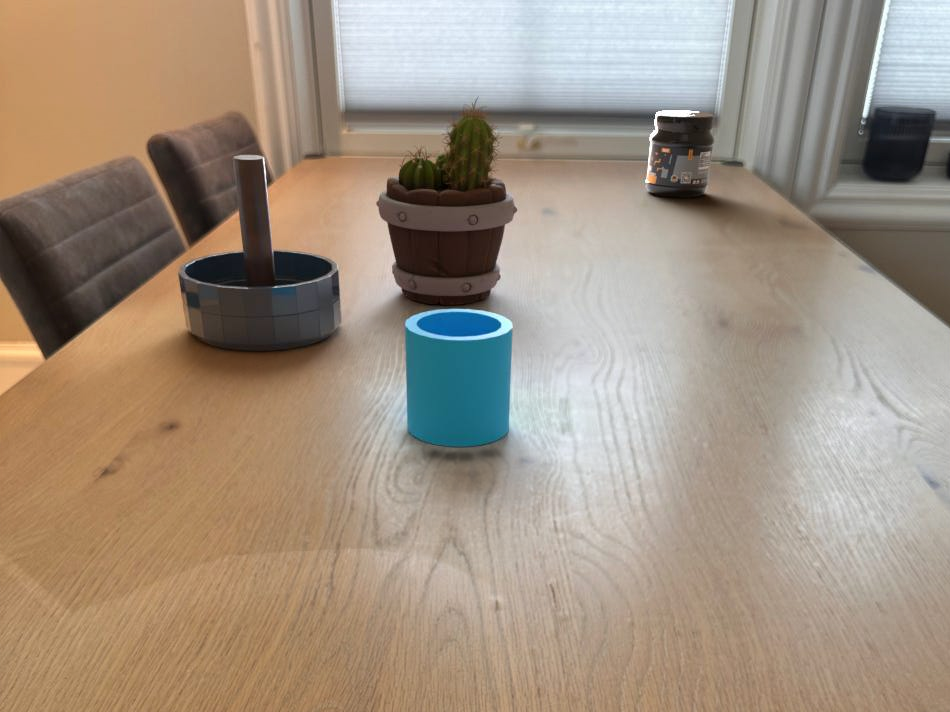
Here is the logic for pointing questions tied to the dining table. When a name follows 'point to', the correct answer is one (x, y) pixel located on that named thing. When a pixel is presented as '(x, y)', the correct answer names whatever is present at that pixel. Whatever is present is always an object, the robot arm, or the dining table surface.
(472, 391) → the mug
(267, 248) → the stick
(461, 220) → the flowerpot
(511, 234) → the dining table surface
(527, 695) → the dining table surface
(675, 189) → the supplement container
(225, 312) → the bowl
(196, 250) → the dining table surface
